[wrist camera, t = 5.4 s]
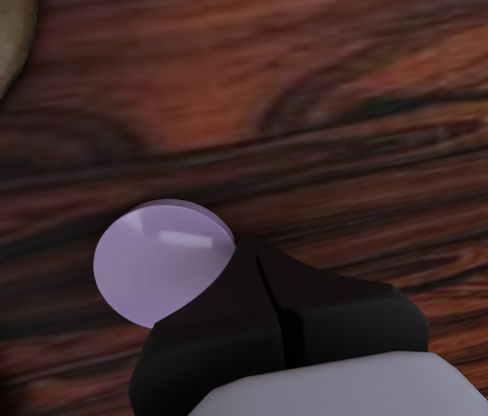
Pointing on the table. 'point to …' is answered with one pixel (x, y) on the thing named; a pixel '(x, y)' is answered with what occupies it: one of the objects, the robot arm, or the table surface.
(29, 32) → the bowl
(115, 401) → the table surface
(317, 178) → the table surface
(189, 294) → the light purple disc
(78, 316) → the table surface
